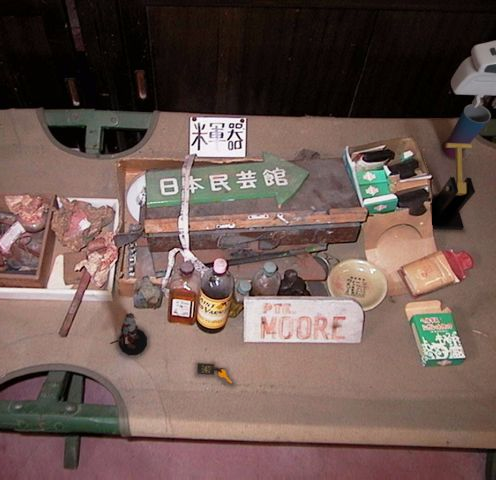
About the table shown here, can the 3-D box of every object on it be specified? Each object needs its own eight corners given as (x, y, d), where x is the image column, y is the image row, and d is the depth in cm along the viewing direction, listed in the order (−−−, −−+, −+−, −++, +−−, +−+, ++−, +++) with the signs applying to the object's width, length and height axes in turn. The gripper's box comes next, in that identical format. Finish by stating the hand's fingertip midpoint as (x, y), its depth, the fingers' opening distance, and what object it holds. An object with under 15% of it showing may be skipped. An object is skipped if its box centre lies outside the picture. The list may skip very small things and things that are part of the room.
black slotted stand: (419, 197, 142) (439, 167, 131) (453, 198, 142) (476, 168, 131) (427, 228, 137) (448, 200, 126) (461, 230, 137) (486, 201, 126)
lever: (444, 144, 133) (448, 141, 130) (468, 145, 133) (473, 142, 130) (444, 194, 131) (449, 193, 129) (469, 195, 131) (474, 193, 129)
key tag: (195, 373, 117) (196, 372, 117) (199, 360, 119) (199, 359, 118) (231, 383, 116) (231, 383, 116) (234, 371, 118) (235, 370, 117)
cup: (466, 146, 152) (492, 108, 139) (462, 163, 148) (489, 126, 136) (442, 139, 153) (466, 100, 140) (437, 155, 150) (462, 117, 137)
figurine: (142, 359, 119) (138, 335, 106) (112, 351, 120) (104, 326, 107) (150, 332, 123) (147, 305, 110) (121, 324, 124) (114, 297, 111)
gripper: (565, 47, 109) (527, 97, 121) (466, 45, 110) (438, 95, 122) (576, 68, 106) (536, 117, 118) (473, 66, 107) (444, 115, 119)
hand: (485, 106), depth 120 cm, fingers open, 3 cm apart
